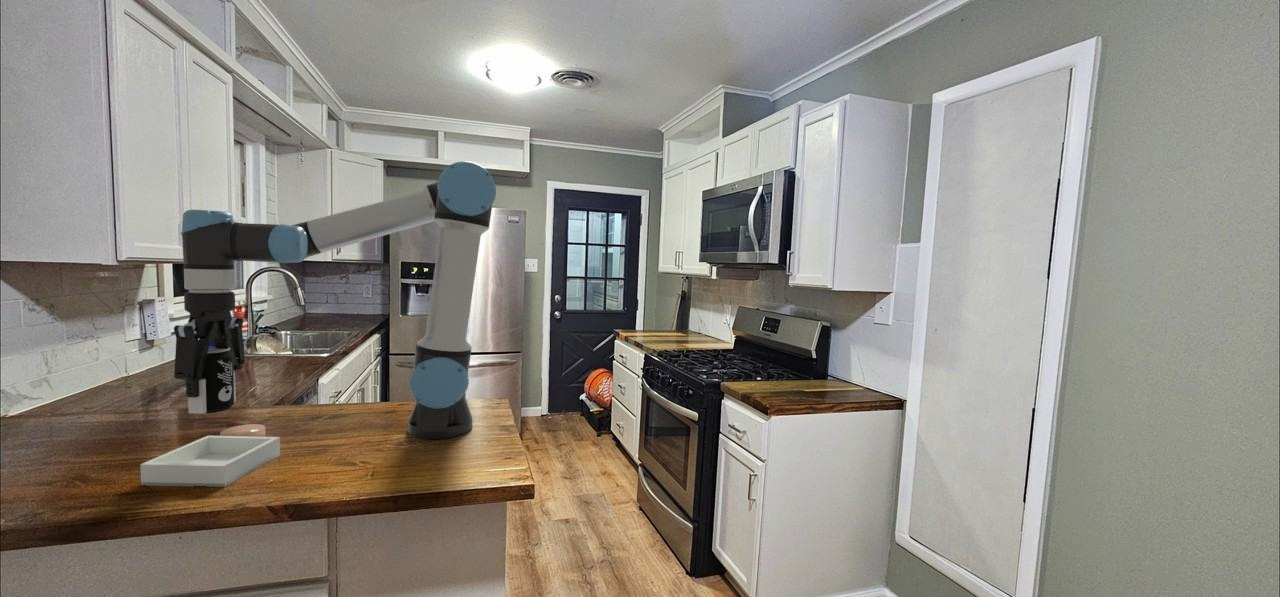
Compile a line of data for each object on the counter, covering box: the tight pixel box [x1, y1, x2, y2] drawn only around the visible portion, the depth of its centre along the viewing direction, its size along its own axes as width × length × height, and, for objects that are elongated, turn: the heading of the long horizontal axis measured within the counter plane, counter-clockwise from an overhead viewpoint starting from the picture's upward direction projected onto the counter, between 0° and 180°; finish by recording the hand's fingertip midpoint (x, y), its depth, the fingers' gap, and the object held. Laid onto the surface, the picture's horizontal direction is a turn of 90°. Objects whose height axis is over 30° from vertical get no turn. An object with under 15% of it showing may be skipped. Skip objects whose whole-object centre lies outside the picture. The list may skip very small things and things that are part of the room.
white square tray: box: [139, 435, 281, 488], centre depth 100 cm, size 15×15×4 cm
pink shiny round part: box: [219, 423, 266, 437], centre depth 114 cm, size 8×8×3 cm
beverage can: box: [194, 346, 235, 414], centre depth 99 cm, size 7×7×12 cm
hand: (213, 407), depth 99 cm, fingers closed on beverage can, 7 cm apart
